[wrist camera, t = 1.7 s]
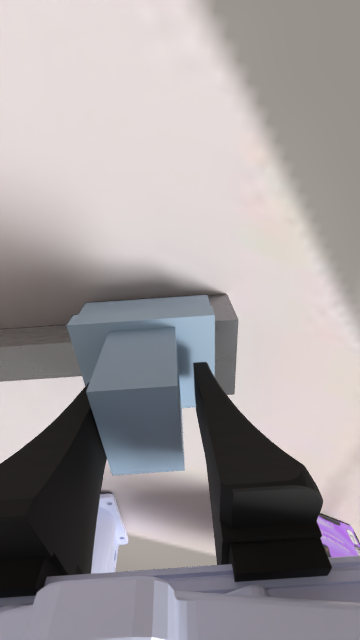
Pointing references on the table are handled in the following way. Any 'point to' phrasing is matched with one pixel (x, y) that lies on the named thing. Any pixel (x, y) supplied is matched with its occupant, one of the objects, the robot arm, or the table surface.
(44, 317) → the table surface
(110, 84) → the table surface
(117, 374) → the carriage
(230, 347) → the rail
